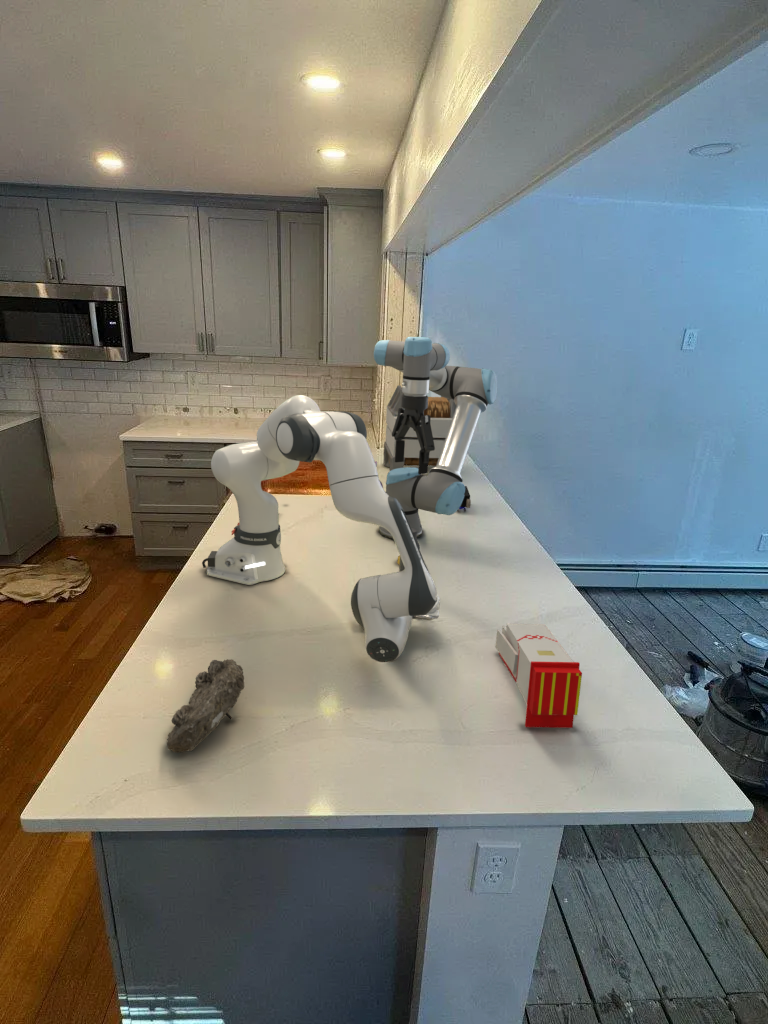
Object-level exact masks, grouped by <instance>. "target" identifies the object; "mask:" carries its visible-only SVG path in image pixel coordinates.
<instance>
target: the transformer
mask: <svg viewBox="0 0 768 1024" xmlns="http://www.w3.org/2000/svg"><path fill="white" fill-rule="evenodd" d="M403 394H404V393H403V392H402V385H399V384H398V385H397V386H396V388H395V390H394V392H393V394H392V395H391V398H390V400H389V402H388V404H387V405H386V413H385V414H386V415H385V423H386V428H385V438H384V442H383V466H384V467H388V468H389V472H390V471H391V470H393V469H397V468H405V466H406V467H409V466H411V467H419V452H420V450H421V447H420V444H419V441H418V438H417V435H416V432H415V431H414V430H413V428H411V427H410V428H409V430H408V432H407V433H406V435H405V438H404V439H403V440H404V441H405V448H404V462H395V447H396V446H395V445H396V440H395V437H392V431H393V428H394V425H395V422H396V419H397V416H398V409H399V408H402V407H401V399H402V395H403ZM455 409H456V404H455V402H454V400H453V399H448V398H445V397H442V396H428V408H427V409H425V410H424V415H430V424H431V430H432V435H433V441H434V446H435V450H434V451H430V453H429V462H428V467H436V465H437V462H438V459H439V456H440V453H441V450H442V447H443V444H444V441H445V438H446V435H447V432H448V429H449V427H450V424H451V421H452V418H453V415H454V412H455ZM425 424H426V423H425ZM420 426H421V425H420ZM424 447H425V446H424ZM460 475H461V473H460Z"/></svg>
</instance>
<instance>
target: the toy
mask: <svg viewBox="0 0 768 1024" xmlns="http://www.w3.org/2000/svg"><path fill="white" fill-rule="evenodd" d="M551 631H552V630H551V629H550V628H548V627H547V625H546V624H545V623H506V625H502V628H501V629H500V628H499V629H497V630H496V636H495V637H496V638H495V644H494V647H495V649H496V651H497V652H498V655H499V657H500V659H501V661H502V662H503V664H504V666H505V667H506V669H507V670H508V672H509V674H510V676H511V677H512V679H513V680H514V682H515V683H516V686H517V688H518V690H519V693H520V694H521V695H522V698H523V700H524V702H525V704H526V708H525V709H526V710H525V721H524V727H525V728H552V729H553V728H555V729H556V728H557V729H562V728H563V729H573V726H574V719H575V716H578V712H579V703H580V695H581V687H582V677H583V672H582V670H580V667H581V665H580V662H578V661H573V659H572V657H570V656H569V655H570V654H568V653H567V651H566V650H565V649H564V647H563V646H562V645H561V644H560V641H558V639H557V638H556V637H555V636H554V634H553V633H552V632H551Z"/></svg>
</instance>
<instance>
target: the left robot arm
mask: <svg viewBox="0 0 768 1024" xmlns="http://www.w3.org/2000/svg"><path fill="white" fill-rule="evenodd" d="M367 436H368V432H367V426H366V424H365V422H364V419H362V417H361V416H359V415H358V414H356V413H353V412H350V411H344V410H340V411H339V410H338V411H337V410H332V411H331V410H329V411H328V410H327V411H323V410H321V408H320V406H319V405H318V404H317V402H316V401H315V400H314V399H313V398H311V397H310V396H307V395H303V394H297V395H293V396H290V397H289V398H288V399H286V400H285V401H283V402H282V403H281V404H279V405H278V406H277V407H276V408H275V409H274V410H273V411H272V412H271V413H270V414H269V415H268V417H267V418H266V419H265V420H264V421H263V423H261V424H260V426H259V427H258V429H257V431H256V440H254V441H248V442H247V441H246V442H240V443H232V444H229V445H226V446H224V447H221V448H219V449H216V450H215V451H214V453H213V455H212V457H211V460H210V468H211V473H212V475H213V476H214V478H215V479H216V481H218V482H219V484H222V485H223V486H225V487H226V488H227V489H229V490H230V491H231V493H232V495H233V496H234V498H235V501H236V504H237V512H238V522H237V523H236V524H237V525H236V526H235V527H233V529H232V530H231V536H233V537H232V538H231V539H229V540H228V541H226V542H224V543H223V544H222V545H221V546H220V547H219V548H218V549H217V550H211V551H210V553H209V555H208V556H207V557H206V558H204V559H203V560H202V561H201V565H202V568H203V569H206V575H207V576H210V577H212V578H218V579H221V580H225V581H229V582H234V583H239V584H243V585H247V586H252V585H255V584H258V583H260V582H261V583H262V582H268V581H271V580H275V579H277V578H280V577H281V576H283V575H284V573H286V566H285V564H284V560H283V555H282V550H281V543H282V532H281V525H280V521H279V520H280V519H279V518H280V517H279V515H280V512H279V502H278V500H277V498H276V497H275V496H274V495H273V494H272V493H270V492H268V491H265V490H263V488H262V482H263V481H268V480H271V479H272V480H274V479H278V478H282V477H285V476H287V475H290V474H291V473H294V472H295V471H297V469H298V468H299V466H300V462H303V463H310V464H311V463H312V462H313V461H320V462H322V464H324V466H325V469H326V475H327V481H328V487H329V492H330V496H331V499H332V503H333V505H334V508H335V510H336V511H337V512H338V513H339V514H340V515H341V516H343V517H345V518H346V519H348V520H351V521H354V522H358V523H363V524H369V525H374V526H378V527H379V526H381V527H383V528H385V529H386V530H388V531H389V532H390V533H391V535H392V537H393V539H392V540H393V541H394V544H395V547H396V549H397V551H398V554H399V555H400V557H401V559H402V562H403V564H404V567H405V569H404V570H403V571H400V572H399V571H396V572H390V573H384V574H377V575H372V576H367V577H363V578H362V577H361V578H359V579H358V581H357V582H356V583H355V585H354V587H353V589H352V592H351V596H350V607H351V611H352V615H353V617H354V619H355V621H356V623H357V624H358V626H360V628H361V629H362V630H363V631H364V649H365V652H366V654H367V655H368V657H369V658H371V659H372V660H374V661H375V662H379V663H390V662H391V663H392V662H394V661H396V660H397V659H398V658H399V657H400V656H401V655H402V653H403V652H404V649H405V647H406V644H407V642H408V639H409V632H410V629H411V626H412V623H413V620H418V621H426V622H429V621H433V620H435V619H437V620H438V618H439V617H440V611H439V610H440V603H441V598H440V596H439V595H438V590H437V586H436V583H435V581H434V579H433V577H432V575H431V573H430V571H429V568H428V566H427V564H426V561H425V560H424V557H423V555H422V552H421V549H420V550H419V547H418V544H417V542H416V539H415V537H414V534H413V532H412V529H411V527H410V524H409V522H408V520H407V517H406V515H405V513H404V510H403V508H402V507H401V505H400V503H399V502H398V500H397V499H396V498H394V497H390V496H389V495H388V494H387V493H386V490H385V489H384V487H383V488H382V486H381V483H382V482H381V483H380V481H381V480H380V478H379V473H378V467H376V464H375V461H376V460H375V457H374V455H373V452H372V449H371V447H370V445H369V442H368V440H367V438H368V437H367ZM379 480H380V481H379ZM206 562H207V566H206ZM206 567H207V568H206Z"/></svg>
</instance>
